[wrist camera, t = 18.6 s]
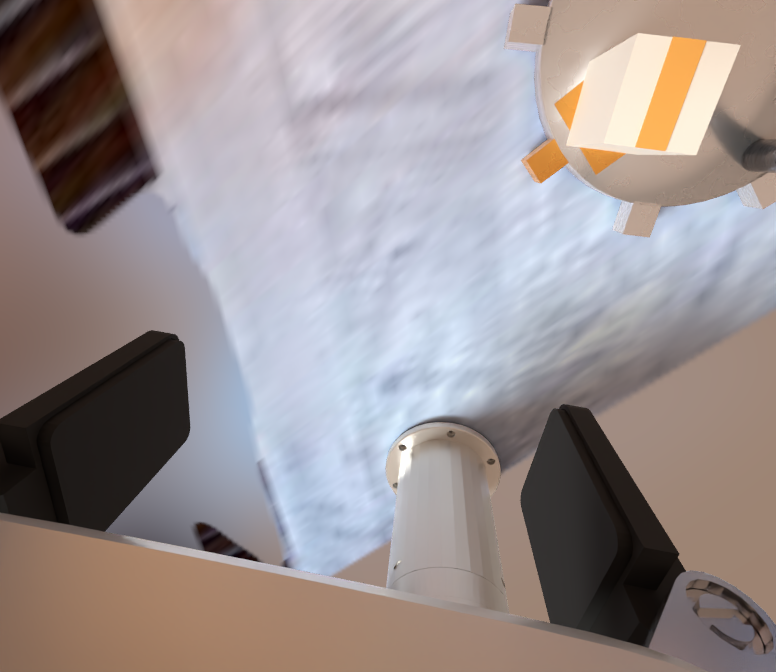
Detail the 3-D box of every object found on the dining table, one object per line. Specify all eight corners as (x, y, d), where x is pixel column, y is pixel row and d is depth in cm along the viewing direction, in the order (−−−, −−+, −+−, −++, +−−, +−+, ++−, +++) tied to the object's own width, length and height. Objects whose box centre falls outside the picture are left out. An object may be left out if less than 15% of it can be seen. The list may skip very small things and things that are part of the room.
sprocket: (958, 75, 26) (1156, 46, 19) (604, 290, 35) (649, 327, 27) (831, -368, 20) (1056, -662, 13) (434, 24, 28) (434, -21, 21)
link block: (637, 154, 28) (697, 155, 22) (566, 145, 29) (604, 143, 22) (667, 70, 26) (742, 44, 20) (589, 61, 26) (639, 32, 20)
